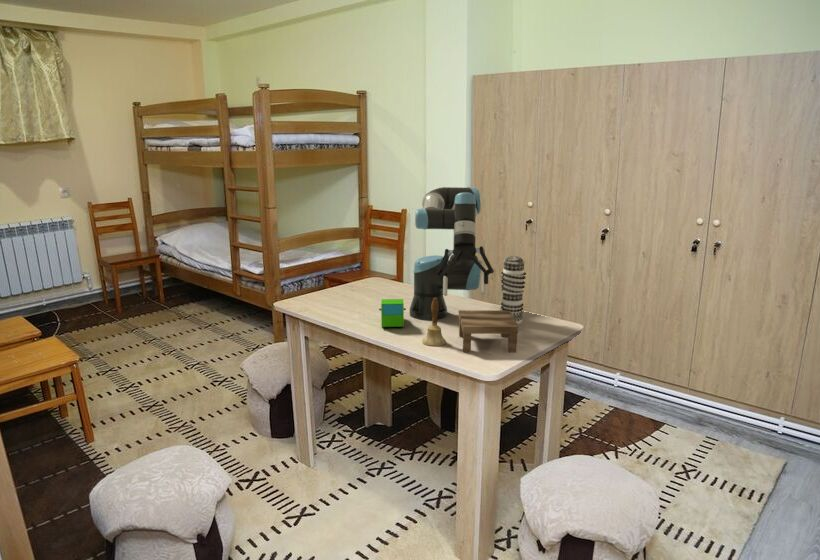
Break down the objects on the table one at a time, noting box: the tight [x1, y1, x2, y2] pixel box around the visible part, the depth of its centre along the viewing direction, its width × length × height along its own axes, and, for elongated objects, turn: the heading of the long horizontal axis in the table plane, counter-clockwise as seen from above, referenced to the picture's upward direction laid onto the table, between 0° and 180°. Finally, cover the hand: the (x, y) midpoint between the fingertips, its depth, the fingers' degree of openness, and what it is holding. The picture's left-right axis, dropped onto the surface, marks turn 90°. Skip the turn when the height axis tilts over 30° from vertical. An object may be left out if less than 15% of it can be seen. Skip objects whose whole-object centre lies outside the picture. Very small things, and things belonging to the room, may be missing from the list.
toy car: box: [378, 298, 407, 329], centre depth 214 cm, size 10×13×10 cm
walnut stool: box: [458, 309, 519, 353], centre depth 194 cm, size 18×18×9 cm
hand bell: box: [421, 298, 447, 347], centre depth 194 cm, size 8×8×16 cm
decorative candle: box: [500, 255, 527, 325], centre depth 216 cm, size 9×9×25 cm
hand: (464, 294), depth 195 cm, fingers open, 13 cm apart
